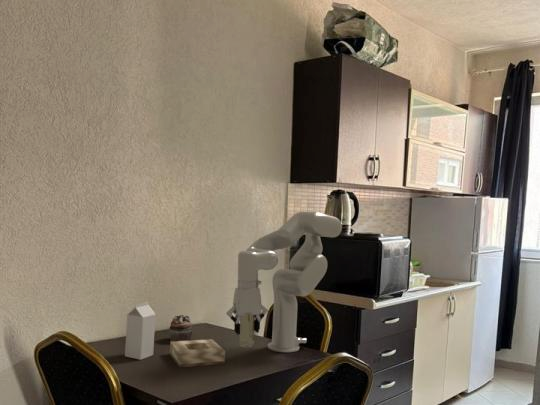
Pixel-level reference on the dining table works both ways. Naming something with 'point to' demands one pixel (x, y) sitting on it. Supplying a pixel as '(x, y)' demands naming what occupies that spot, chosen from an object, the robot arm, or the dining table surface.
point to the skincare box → (247, 330)
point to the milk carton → (140, 332)
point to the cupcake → (180, 328)
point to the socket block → (197, 353)
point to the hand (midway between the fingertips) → (247, 332)
